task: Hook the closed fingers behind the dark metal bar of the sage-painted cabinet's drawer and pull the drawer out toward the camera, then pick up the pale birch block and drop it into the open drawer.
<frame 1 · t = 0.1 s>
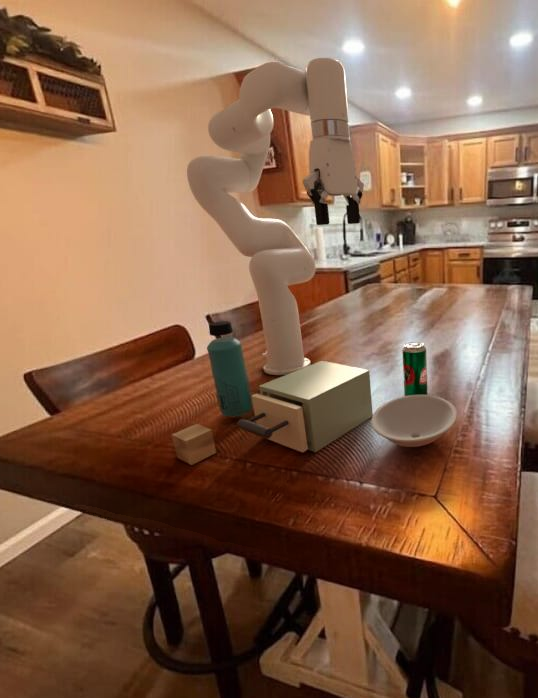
hand: (339, 224, 87), 37 cm above the table, tool pointing down, fingers open, 9 cm apart
cabinet: (321, 424, 78), on the table
beverage bottle: (238, 417, 84), on the table
dish: (415, 441, 71), on the table
drawer: (297, 412, 73), point 5 cm above the table, slide at 1.0 cm
block: (197, 455, 70), on the table
soda can: (416, 397, 89), on the table
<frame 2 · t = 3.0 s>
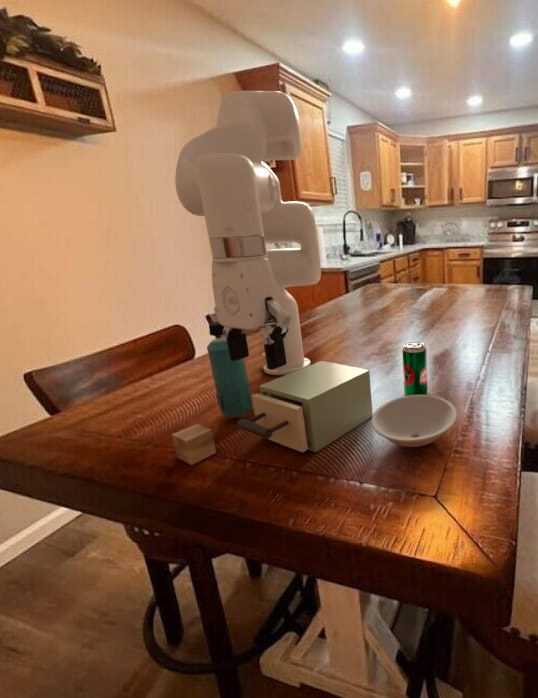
hand: (258, 362, 64), 16 cm above the table, tool pointing down, fingers open, 8 cm apart
nothing on the table moved.
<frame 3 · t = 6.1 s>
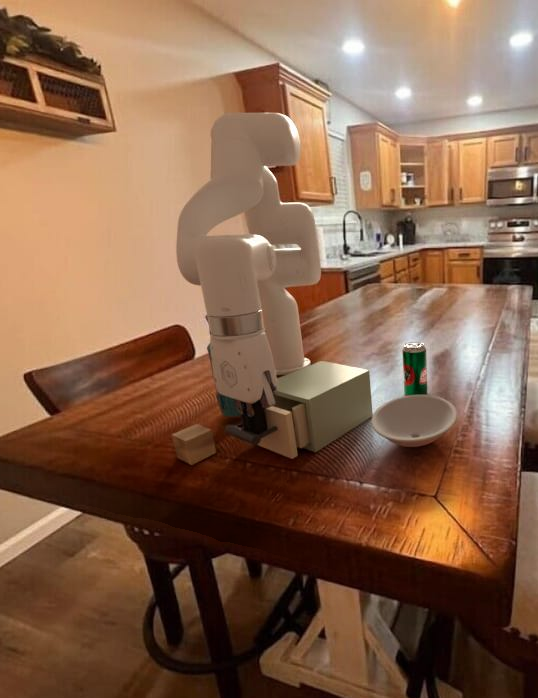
hand: (256, 433, 66), 5 cm above the table, tool pointing down, fingers closed
drawer: (287, 417, 71), point 5 cm above the table, slide at 3.2 cm
everything else where it was.
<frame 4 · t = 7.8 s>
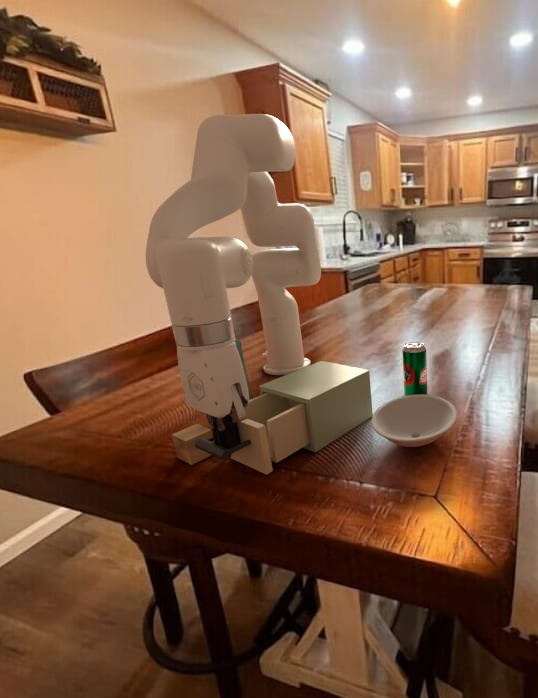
hand: (229, 448, 62), 5 cm above the table, tool pointing down, fingers closed
drawer: (264, 429, 67), point 5 cm above the table, slide at 8.3 cm
everything else where it was.
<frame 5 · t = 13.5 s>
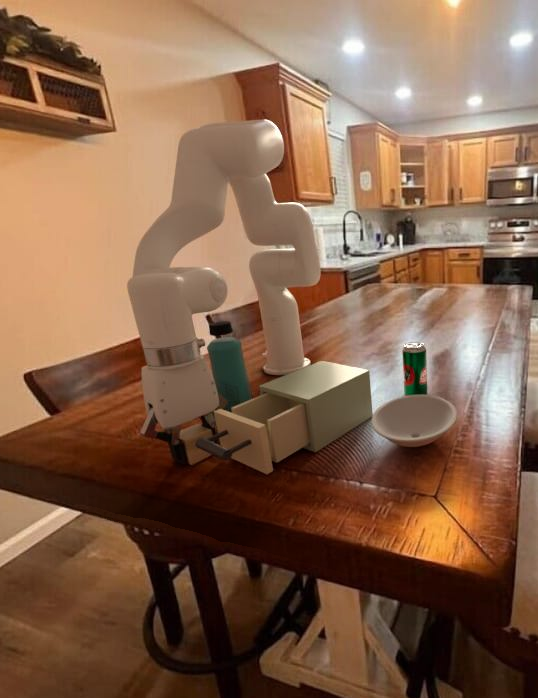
hand: (196, 453, 69), 0 cm above the table, tool pointing down, fingers closed on block, 4 cm apart
block: (197, 455, 70), on the table, touching gripper
everything else where it was.
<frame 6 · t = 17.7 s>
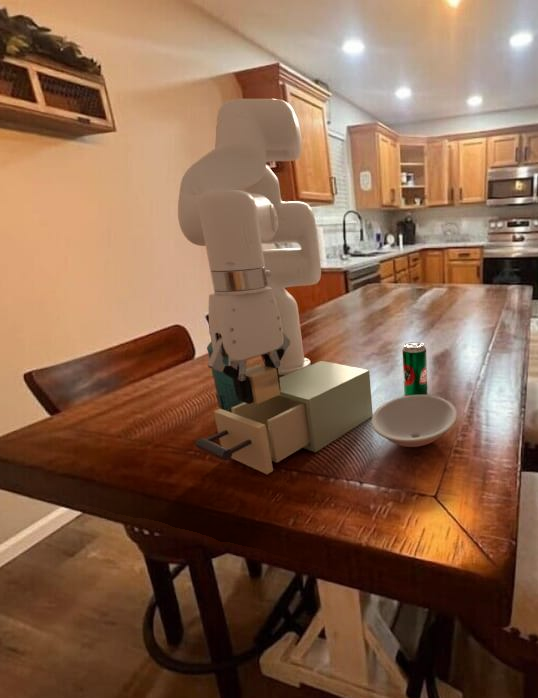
hand: (259, 394, 65), 11 cm above the table, tool pointing down, fingers closed on block, 4 cm apart
block: (260, 396, 65), point 11 cm above the table, touching gripper
everything else where it was.
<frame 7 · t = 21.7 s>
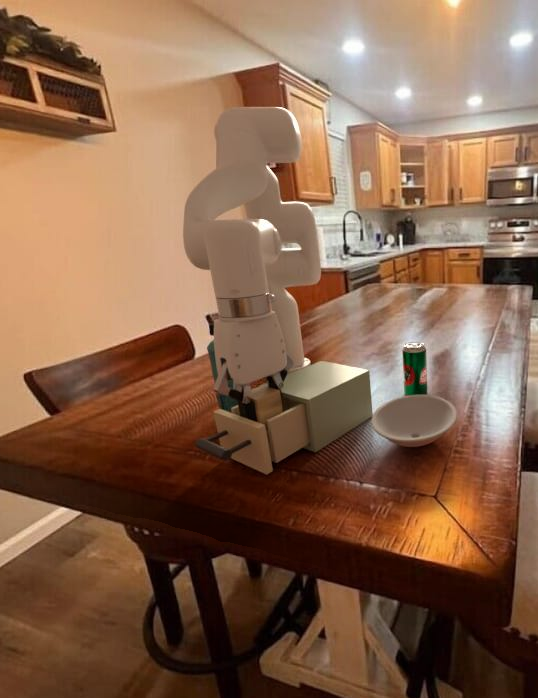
hand: (263, 415, 66), 7 cm above the table, tool pointing down, fingers closed on block, 4 cm apart
drawer: (264, 429, 67), point 5 cm above the table, slide at 8.3 cm, touching gripper
block: (263, 417, 67), point 7 cm above the table, touching gripper
everything else where it was.
when the fingers open (7 cm above the table, at t = 21.8 s): block drops 5 cm, resting on drawer.
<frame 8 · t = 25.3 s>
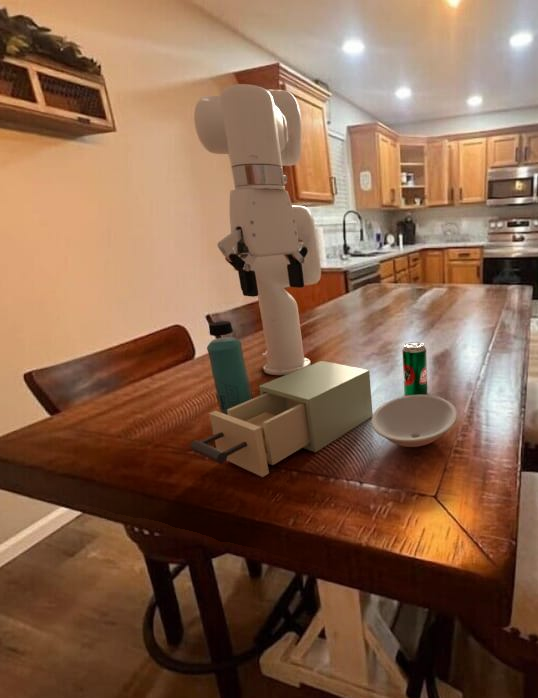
hand: (275, 291, 68), 26 cm above the table, tool pointing down, fingers open, 9 cm apart
drawer: (260, 431, 66), point 5 cm above the table, slide at 9.0 cm, touching block
block: (267, 444, 68), point 2 cm above the table, touching drawer
everything else where it was.
at the end: drawer slide at 9.0 cm; block inside the target area in the drawer (1.0 cm from its centre), point 2.1 cm above the cabinet's base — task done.
